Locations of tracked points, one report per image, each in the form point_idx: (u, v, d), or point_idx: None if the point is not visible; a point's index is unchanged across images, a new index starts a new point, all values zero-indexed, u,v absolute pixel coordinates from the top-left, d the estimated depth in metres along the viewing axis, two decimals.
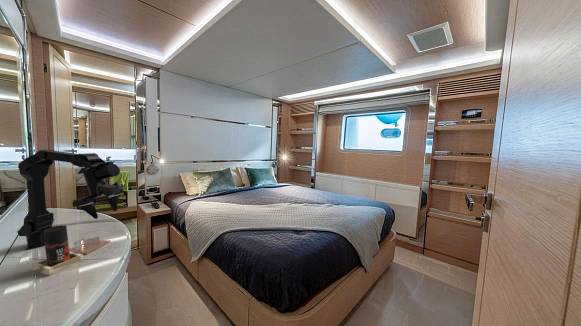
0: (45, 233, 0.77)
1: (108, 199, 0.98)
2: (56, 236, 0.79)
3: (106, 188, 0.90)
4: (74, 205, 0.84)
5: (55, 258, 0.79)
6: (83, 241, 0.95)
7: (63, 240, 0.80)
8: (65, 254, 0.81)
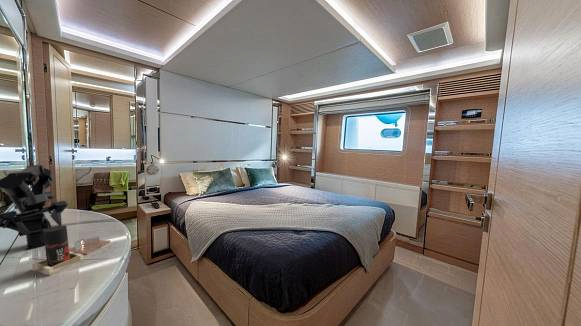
0: (45, 233, 0.77)
1: (52, 215, 0.89)
2: (56, 236, 0.79)
3: (28, 198, 0.80)
4: None
5: (55, 258, 0.79)
6: (83, 241, 0.95)
7: (63, 240, 0.80)
8: (65, 254, 0.81)
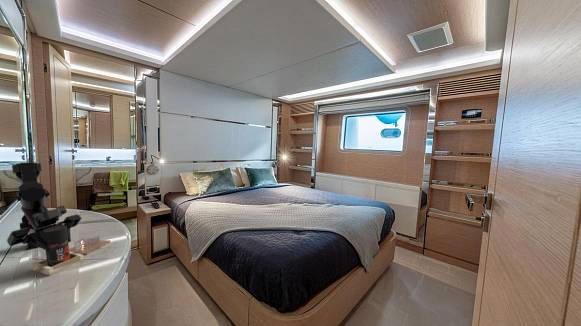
0: (45, 233, 0.77)
1: None
2: (56, 236, 0.79)
3: (40, 214, 0.78)
4: (9, 243, 0.73)
5: (55, 258, 0.79)
6: (83, 241, 0.95)
7: (63, 240, 0.80)
8: (65, 254, 0.81)
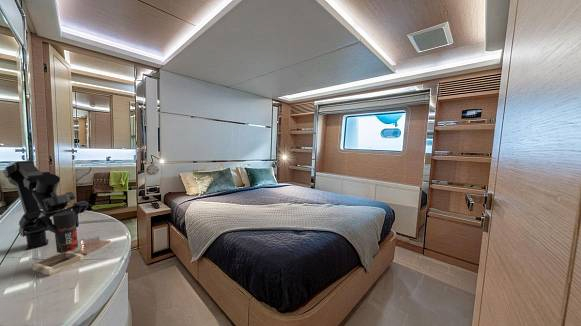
0: (55, 217, 0.80)
1: None
2: (65, 220, 0.82)
3: (50, 199, 0.81)
4: (21, 225, 0.76)
5: (64, 241, 0.82)
6: (83, 241, 0.95)
7: (71, 224, 0.84)
8: (73, 238, 0.84)
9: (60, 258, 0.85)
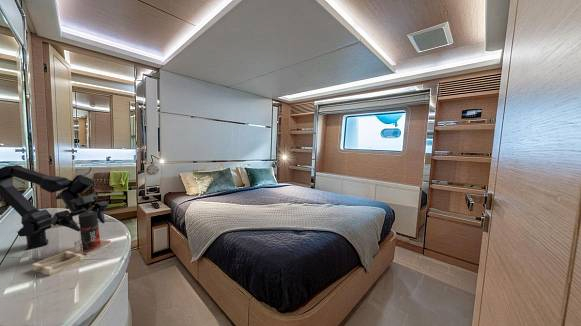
0: (80, 218, 0.90)
1: None
2: (90, 220, 0.92)
3: (77, 199, 0.91)
4: (52, 223, 0.86)
5: (89, 239, 0.92)
6: None
7: (95, 224, 0.94)
8: (96, 236, 0.94)
9: (60, 258, 0.85)
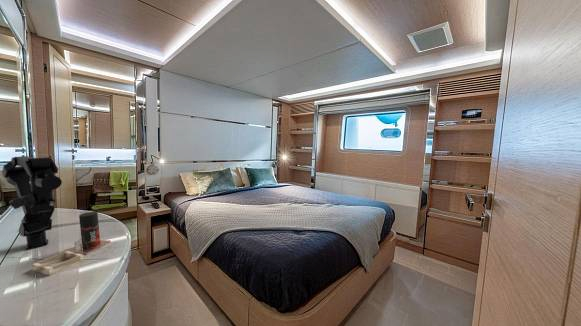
0: (81, 217, 0.90)
1: None
2: (90, 220, 0.92)
3: None
4: None
5: (89, 239, 0.92)
6: None
7: (95, 224, 0.94)
8: (96, 236, 0.94)
9: (60, 258, 0.85)
